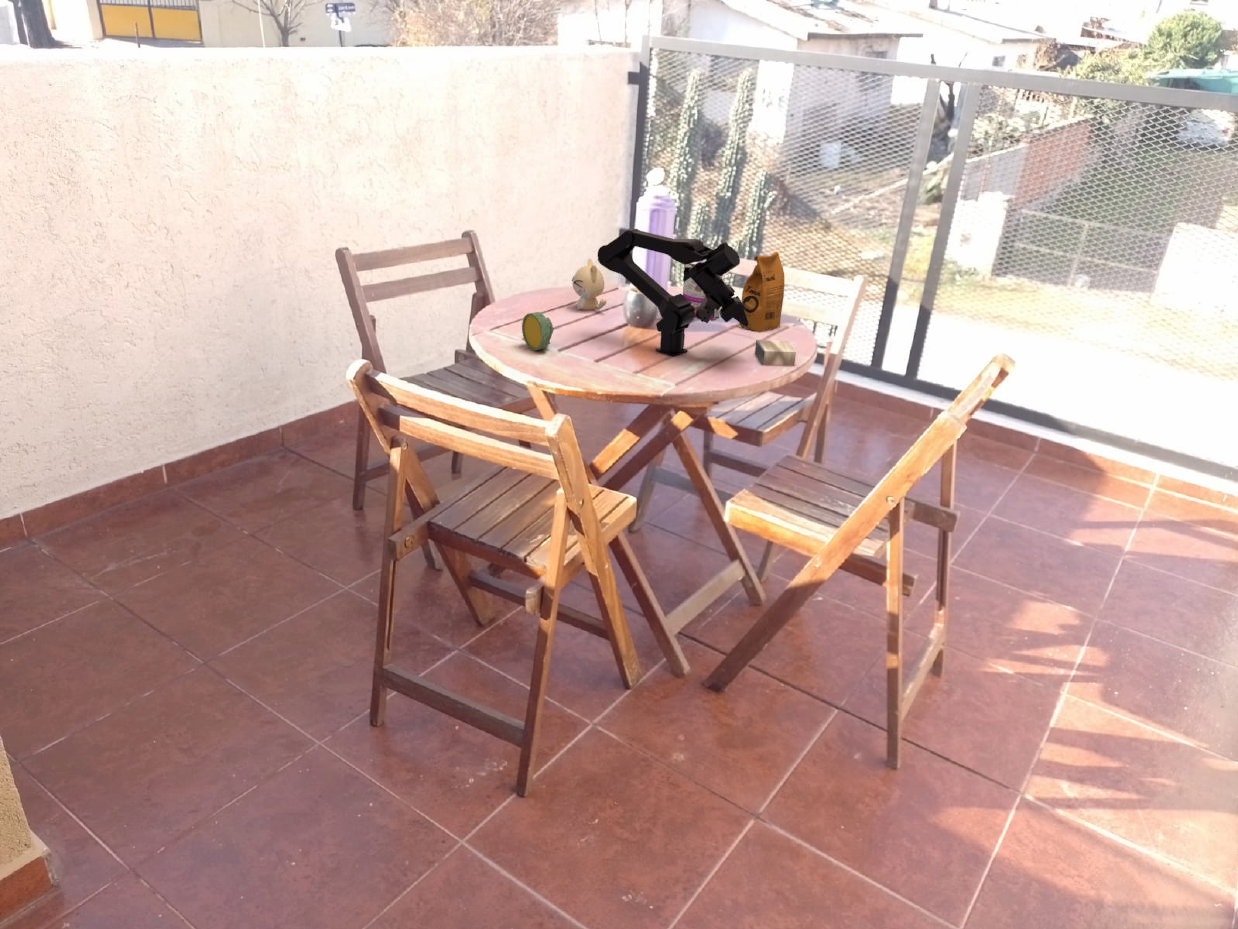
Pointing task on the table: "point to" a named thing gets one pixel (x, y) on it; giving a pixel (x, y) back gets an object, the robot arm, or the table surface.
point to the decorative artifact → (537, 330)
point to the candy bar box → (696, 294)
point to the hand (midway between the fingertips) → (747, 325)
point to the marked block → (775, 352)
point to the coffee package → (764, 294)
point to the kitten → (589, 287)
